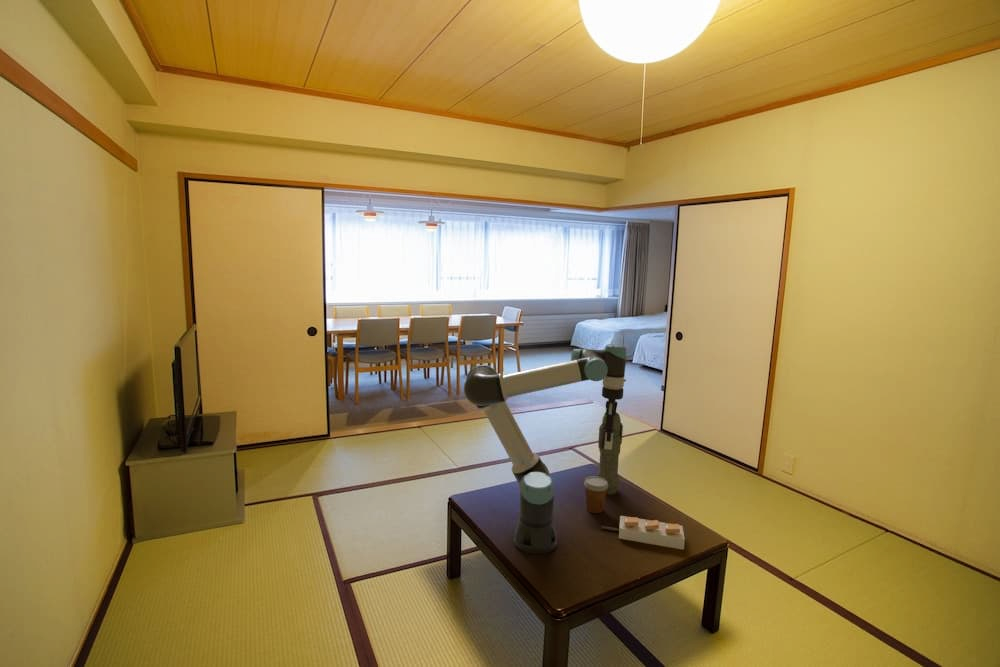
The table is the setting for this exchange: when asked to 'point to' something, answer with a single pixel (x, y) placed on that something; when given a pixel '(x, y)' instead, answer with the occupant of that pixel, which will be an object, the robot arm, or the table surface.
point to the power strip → (650, 534)
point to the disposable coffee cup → (595, 493)
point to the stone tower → (610, 454)
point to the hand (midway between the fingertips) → (608, 448)
